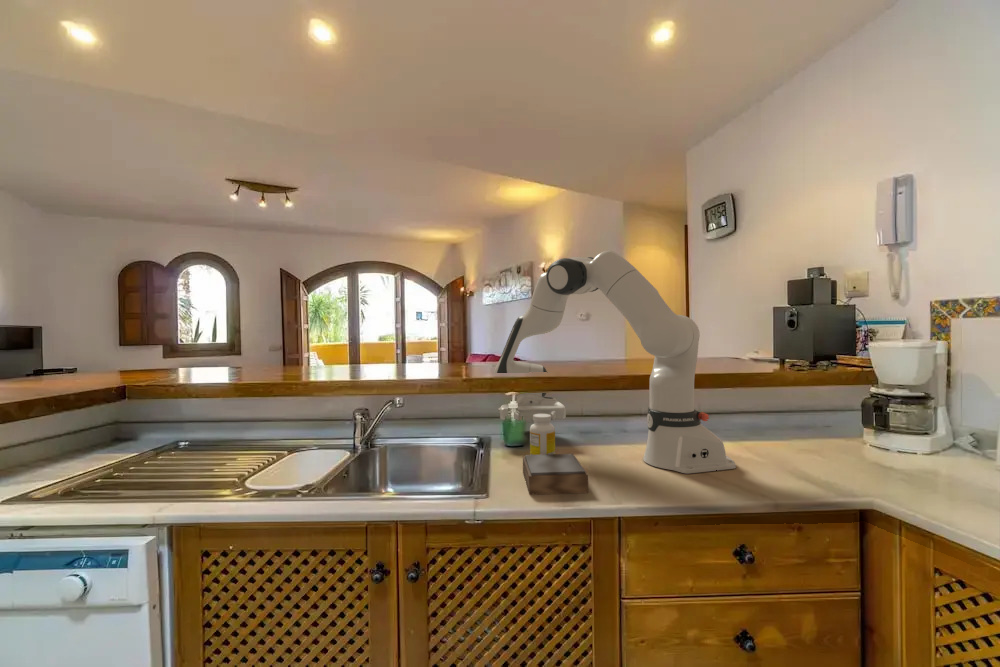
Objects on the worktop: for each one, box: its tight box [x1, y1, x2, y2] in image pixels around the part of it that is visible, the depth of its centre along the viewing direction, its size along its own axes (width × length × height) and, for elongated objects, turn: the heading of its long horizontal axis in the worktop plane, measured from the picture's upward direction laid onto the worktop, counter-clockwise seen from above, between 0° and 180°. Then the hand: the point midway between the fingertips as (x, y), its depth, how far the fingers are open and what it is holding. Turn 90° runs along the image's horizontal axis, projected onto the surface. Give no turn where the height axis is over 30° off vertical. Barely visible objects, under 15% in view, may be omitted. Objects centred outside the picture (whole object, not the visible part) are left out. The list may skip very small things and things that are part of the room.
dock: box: [522, 453, 589, 495], centre depth 106 cm, size 13×14×5 cm
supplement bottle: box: [529, 414, 556, 455], centre depth 120 cm, size 7×7×13 cm
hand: (535, 417), depth 132 cm, fingers open, 8 cm apart
